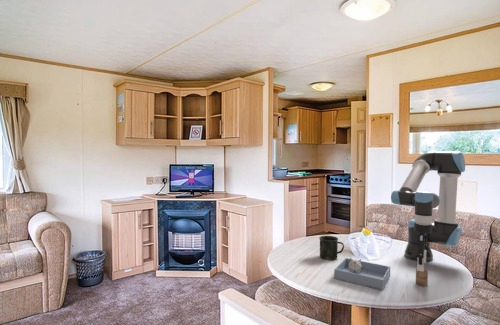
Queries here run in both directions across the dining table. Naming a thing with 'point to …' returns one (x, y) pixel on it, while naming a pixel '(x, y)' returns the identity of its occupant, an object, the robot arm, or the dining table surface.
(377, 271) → the tote
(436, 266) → the dining table surface
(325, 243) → the mug
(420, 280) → the walnut cylinder
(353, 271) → the game die
